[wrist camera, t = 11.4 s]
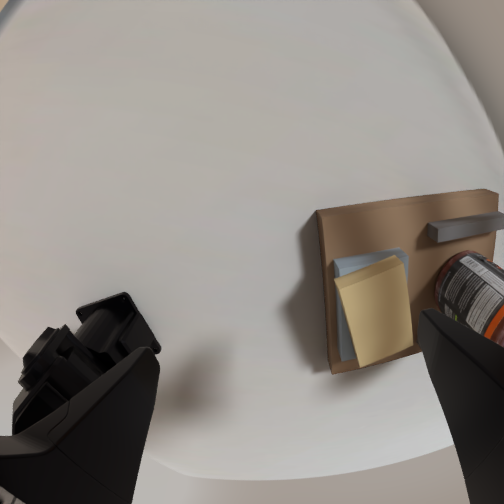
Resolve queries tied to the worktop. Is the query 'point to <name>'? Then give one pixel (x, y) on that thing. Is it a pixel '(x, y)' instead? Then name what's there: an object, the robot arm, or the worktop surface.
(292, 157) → the worktop surface
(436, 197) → the shelf board
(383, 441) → the worktop surface
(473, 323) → the supplement bottle
